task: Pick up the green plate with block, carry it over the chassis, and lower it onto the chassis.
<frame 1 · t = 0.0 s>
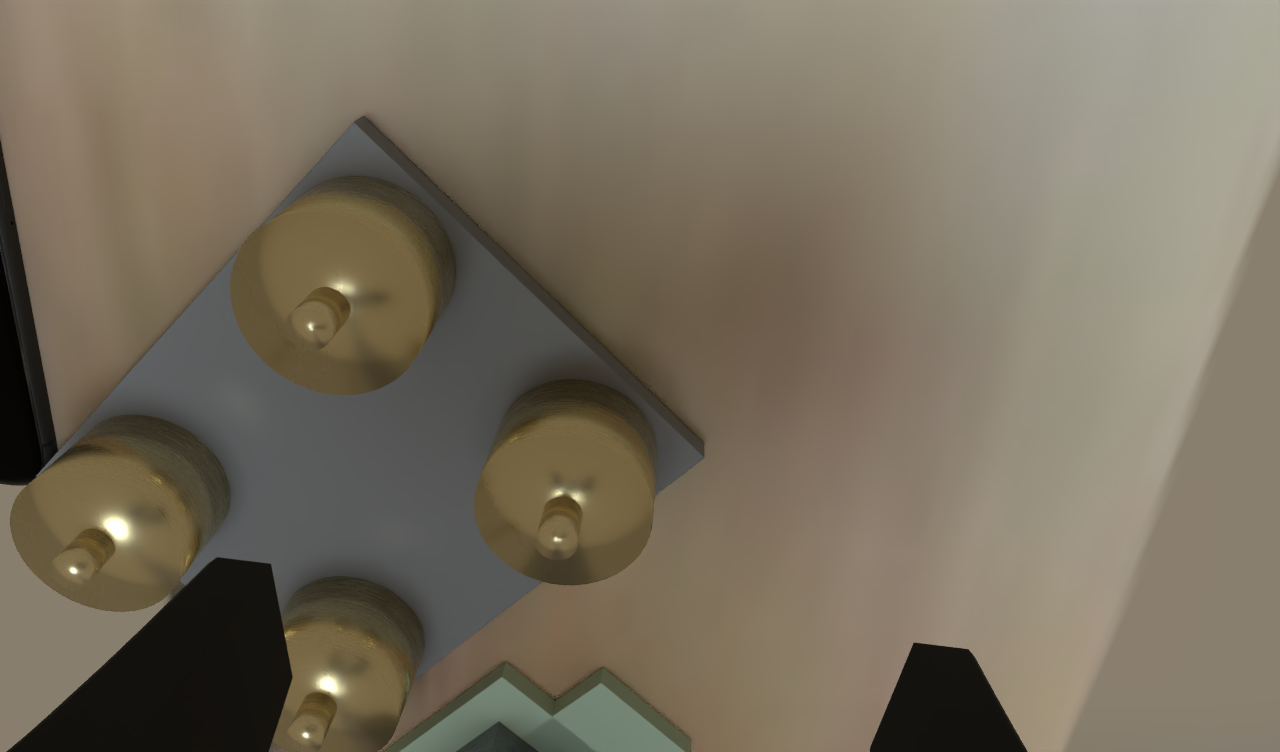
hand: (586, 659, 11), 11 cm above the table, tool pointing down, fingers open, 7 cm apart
chassis: (368, 453, 22), on the table
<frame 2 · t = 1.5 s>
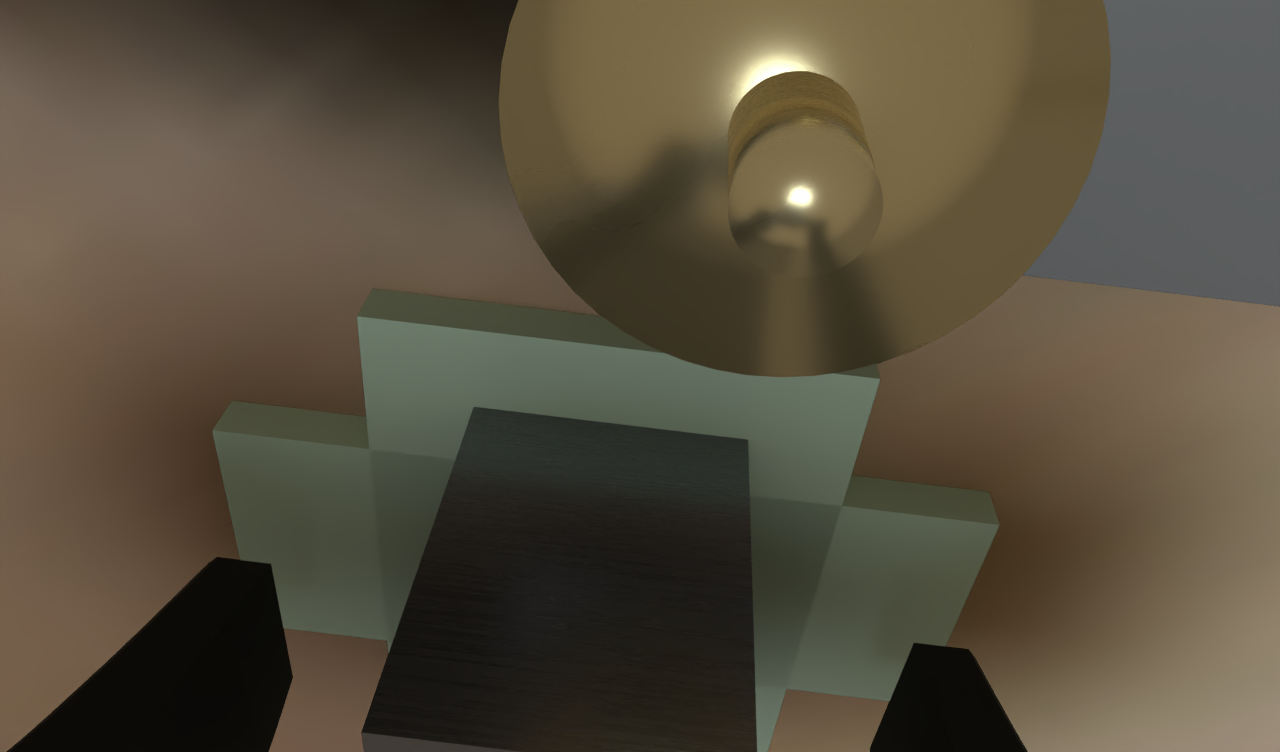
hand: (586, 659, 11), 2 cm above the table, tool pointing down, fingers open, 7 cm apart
green plate with block: (602, 532, 13), on the table
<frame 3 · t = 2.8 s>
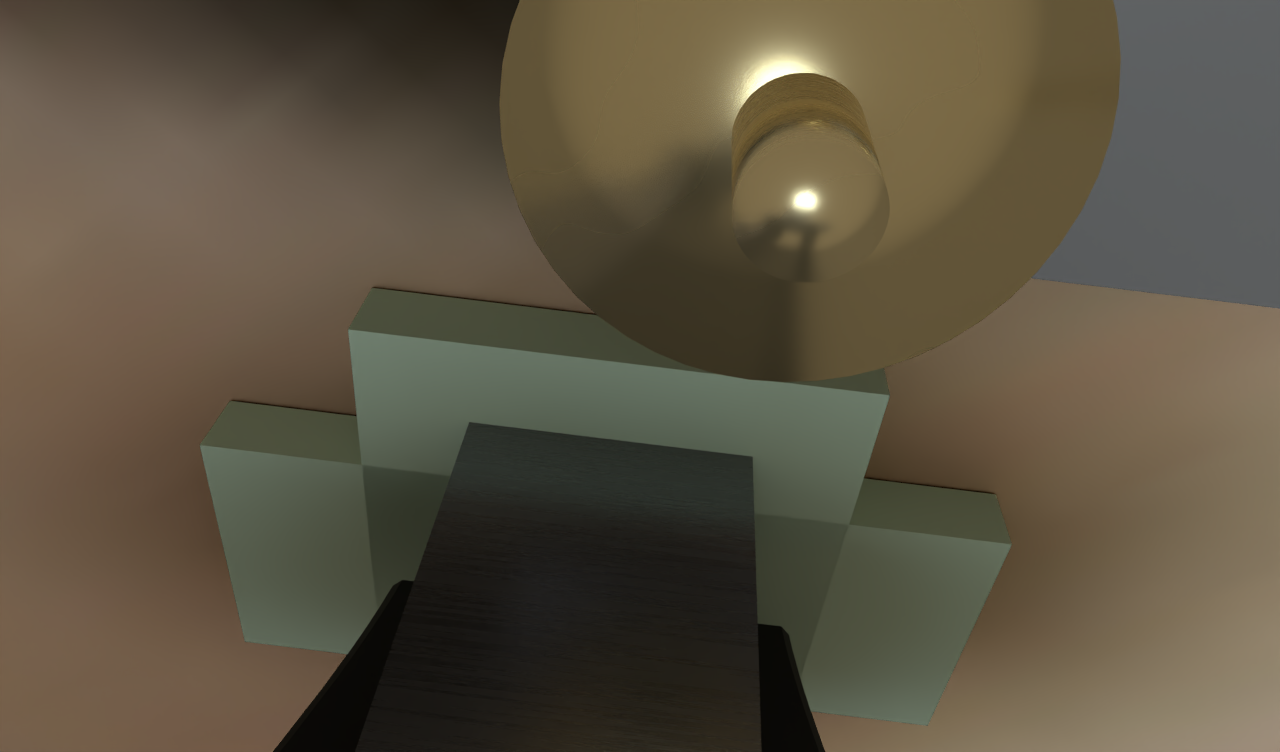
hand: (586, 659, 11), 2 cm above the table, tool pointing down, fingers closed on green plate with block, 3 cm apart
green plate with block: (601, 548, 12), on the table, touching gripper
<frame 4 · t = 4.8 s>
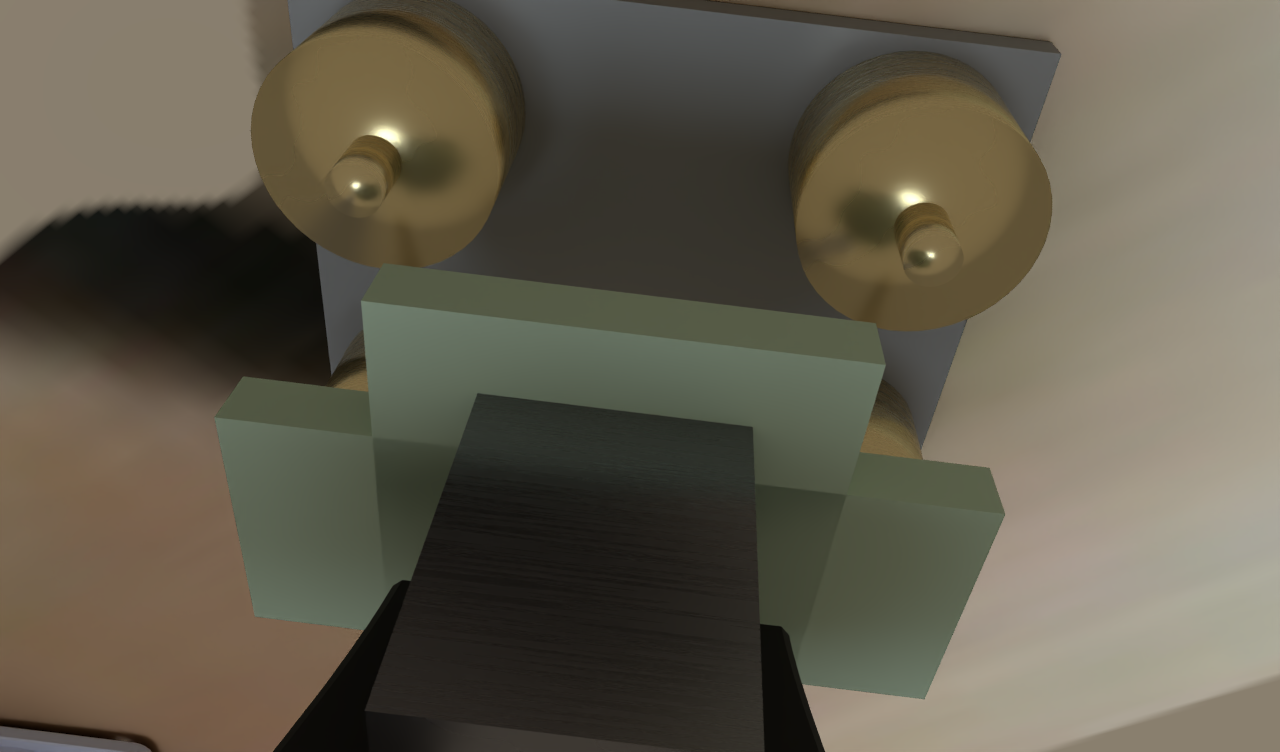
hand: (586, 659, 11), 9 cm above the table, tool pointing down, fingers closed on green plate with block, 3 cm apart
chassis: (642, 270, 18), on the table
green plate with block: (605, 524, 13), point 7 cm above the table, touching gripper
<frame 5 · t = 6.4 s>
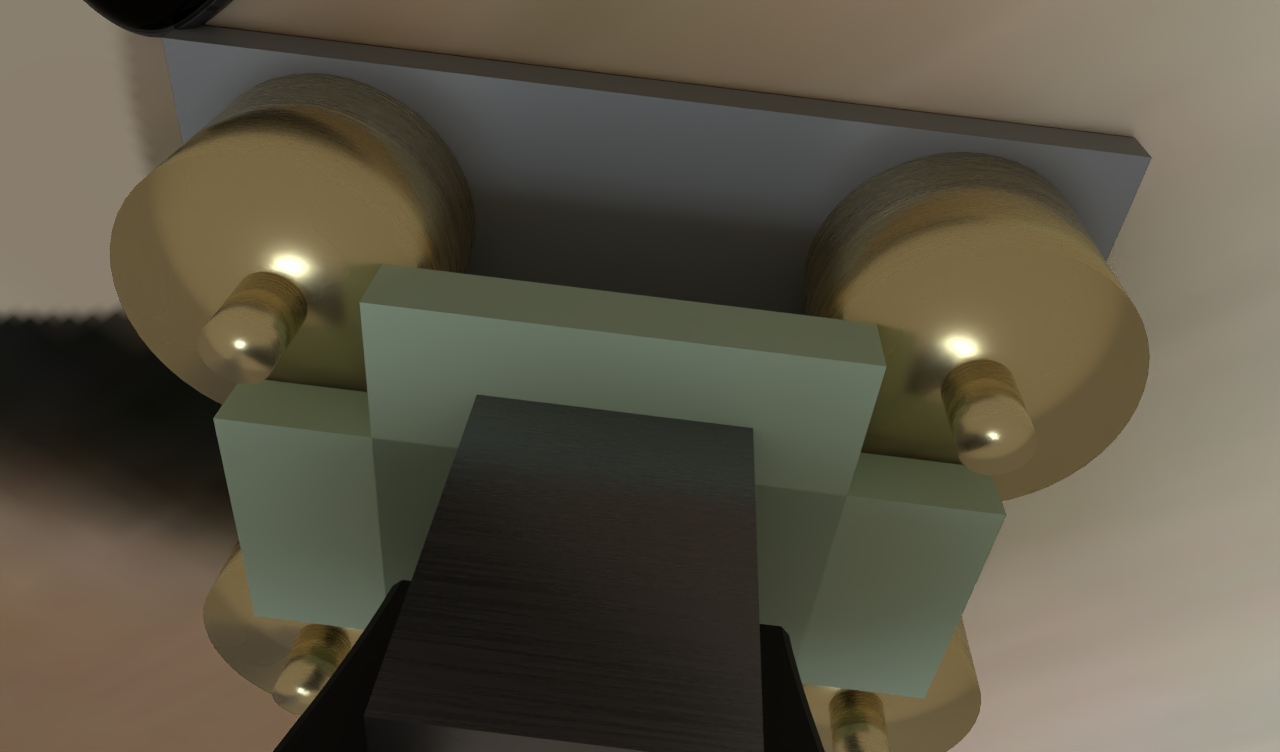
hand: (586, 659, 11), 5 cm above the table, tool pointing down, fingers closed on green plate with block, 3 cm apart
chassis: (624, 394, 15), on the table
green plate with block: (605, 524, 13), point 3 cm above the table, touching chassis, gripper
when the fingers open (5 cm above the table, at t = 7.0 s): green plate with block stays where it is, resting on chassis.
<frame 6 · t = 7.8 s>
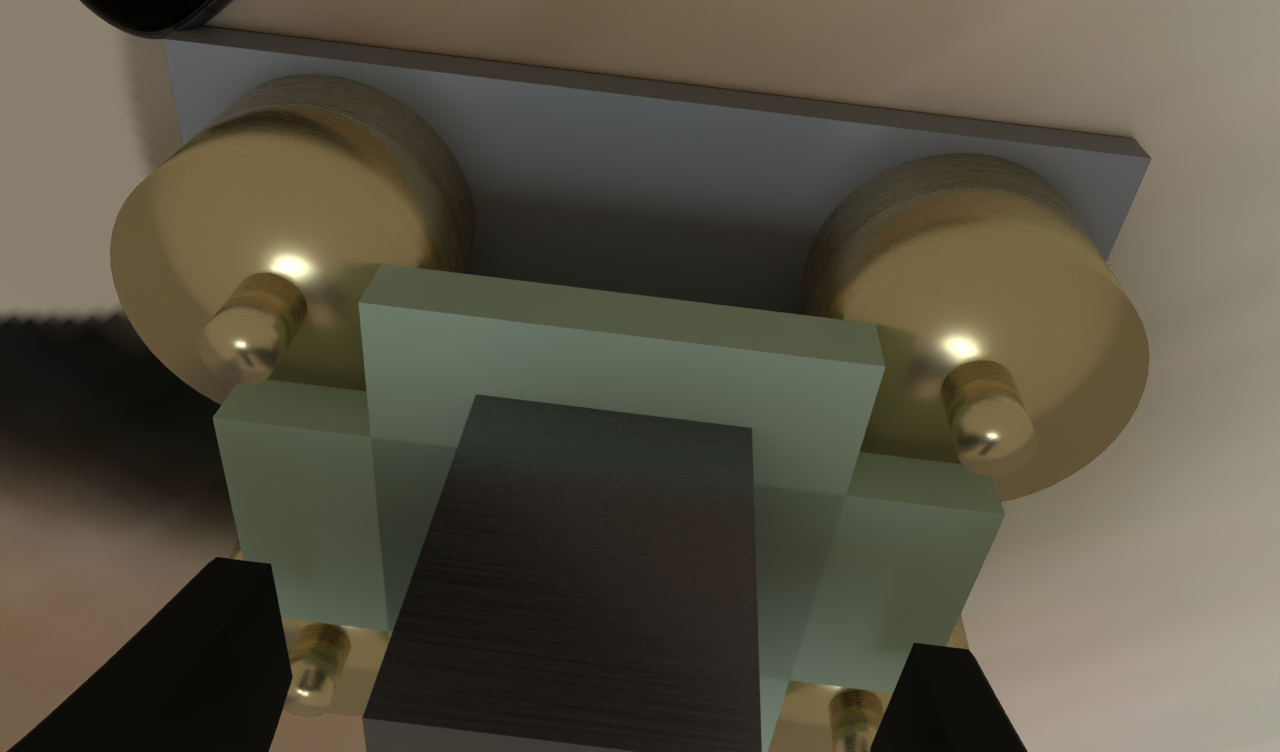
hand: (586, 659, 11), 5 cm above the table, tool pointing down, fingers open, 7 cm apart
chassis: (624, 395, 15), on the table
green plate with block: (604, 522, 13), point 3 cm above the table, touching chassis
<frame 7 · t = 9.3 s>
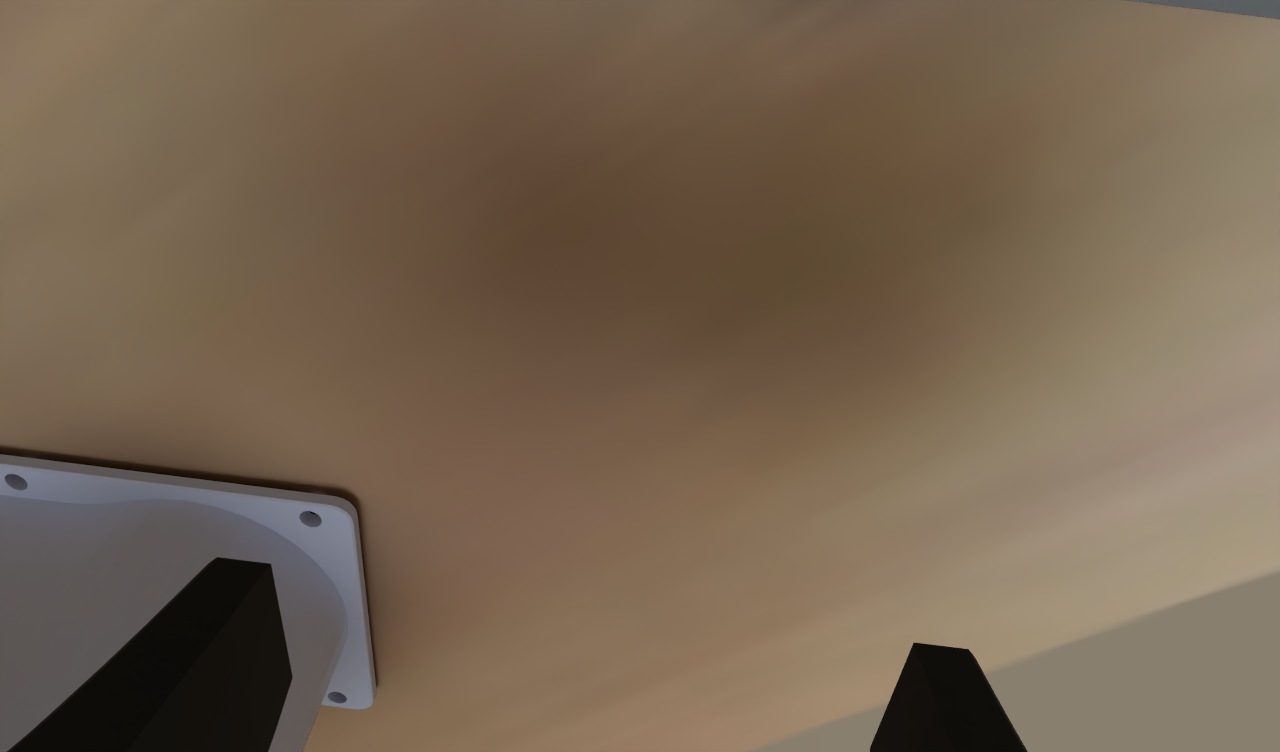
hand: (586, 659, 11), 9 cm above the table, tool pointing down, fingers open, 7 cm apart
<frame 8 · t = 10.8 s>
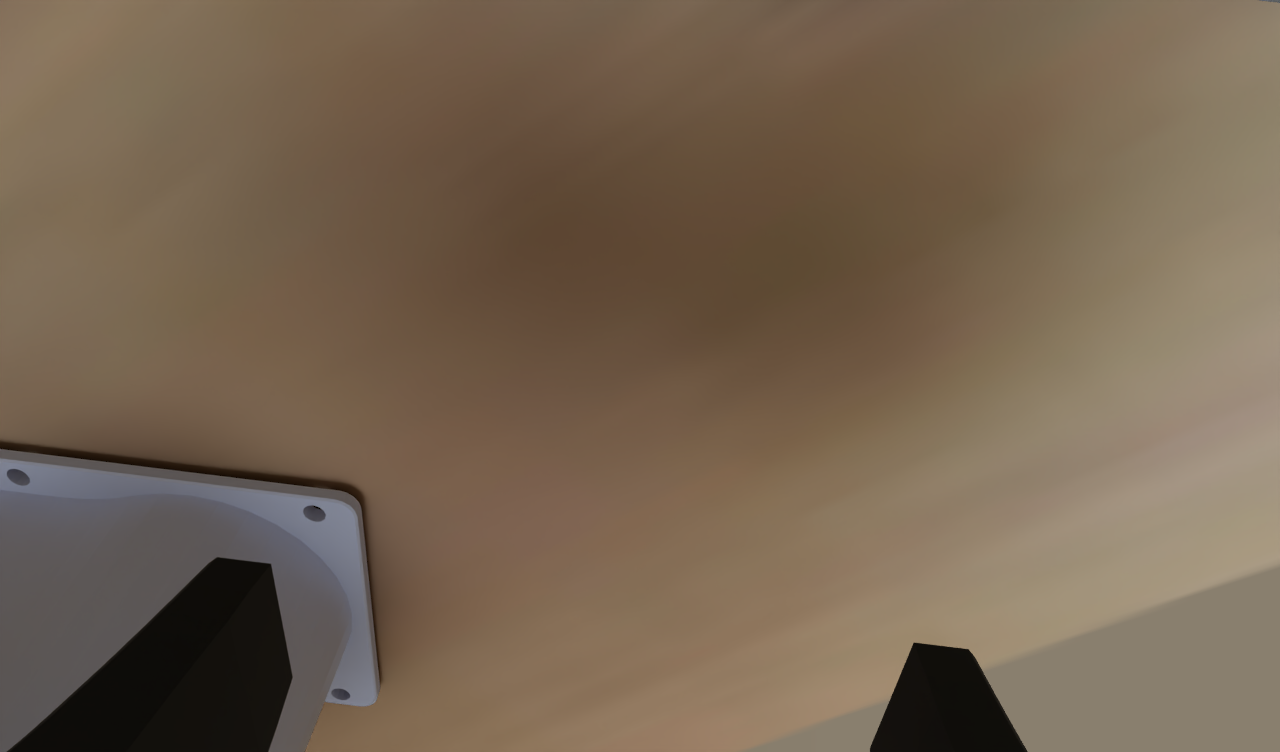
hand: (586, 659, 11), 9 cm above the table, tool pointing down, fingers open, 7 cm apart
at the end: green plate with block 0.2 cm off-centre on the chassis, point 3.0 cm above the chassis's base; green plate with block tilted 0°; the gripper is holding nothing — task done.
